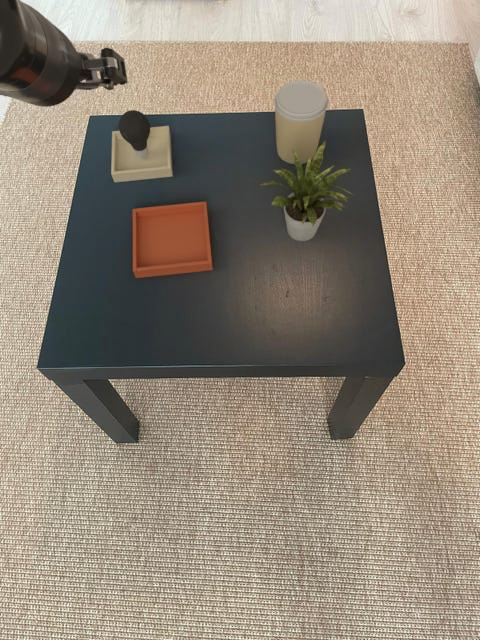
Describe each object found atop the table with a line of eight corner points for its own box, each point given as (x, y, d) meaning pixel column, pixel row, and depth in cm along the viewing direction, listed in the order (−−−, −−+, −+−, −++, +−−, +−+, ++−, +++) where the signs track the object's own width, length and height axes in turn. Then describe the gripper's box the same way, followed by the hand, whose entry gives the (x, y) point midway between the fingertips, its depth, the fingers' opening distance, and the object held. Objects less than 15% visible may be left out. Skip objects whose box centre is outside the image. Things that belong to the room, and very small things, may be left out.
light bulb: (131, 145, 95) (117, 102, 86) (159, 146, 95) (148, 103, 86) (126, 167, 92) (112, 125, 83) (155, 167, 92) (144, 125, 83)
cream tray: (114, 182, 91) (111, 173, 89) (115, 140, 96) (112, 131, 94) (172, 176, 92) (170, 167, 90) (170, 134, 97) (168, 125, 95)
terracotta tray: (135, 278, 82) (132, 271, 80) (135, 217, 88) (132, 208, 85) (213, 270, 82) (211, 262, 80) (207, 209, 88) (206, 201, 86)
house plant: (281, 280, 80) (286, 218, 66) (243, 222, 86) (240, 153, 72) (353, 247, 83) (373, 180, 68) (312, 192, 89) (322, 120, 74)
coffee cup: (315, 130, 96) (322, 76, 85) (324, 165, 92) (333, 112, 81) (269, 135, 96) (270, 81, 85) (276, 170, 91) (278, 118, 81)
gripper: (95, -1, 42) (128, 43, 57) (-69, 15, 42) (8, 55, 57) (111, 93, 44) (138, 111, 60) (-44, 109, 44) (23, 123, 59)
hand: (74, 84), depth 58 cm, fingers open, 8 cm apart
